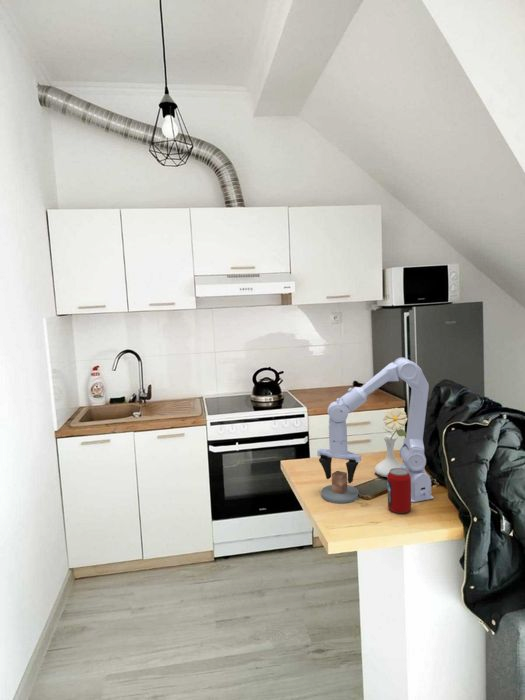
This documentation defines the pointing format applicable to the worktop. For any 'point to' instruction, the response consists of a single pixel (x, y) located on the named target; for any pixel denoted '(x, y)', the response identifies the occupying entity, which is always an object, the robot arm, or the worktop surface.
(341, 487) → the terracotta block
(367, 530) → the worktop surface
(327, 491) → the slate base plate
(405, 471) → the beverage can
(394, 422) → the flower in vase
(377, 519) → the worktop surface
